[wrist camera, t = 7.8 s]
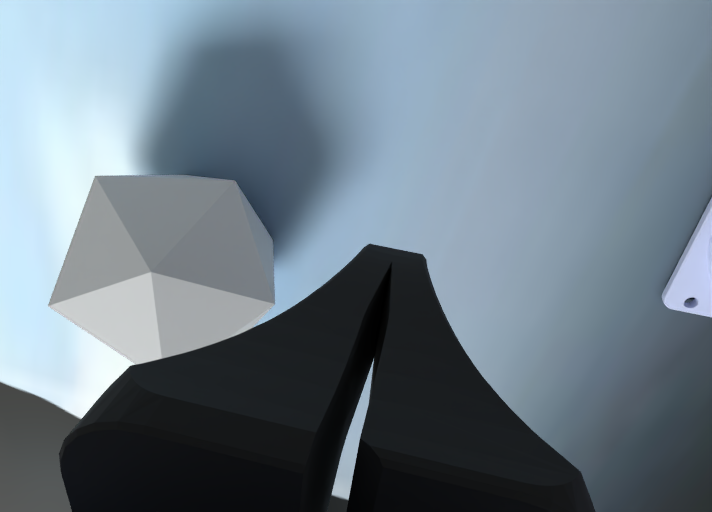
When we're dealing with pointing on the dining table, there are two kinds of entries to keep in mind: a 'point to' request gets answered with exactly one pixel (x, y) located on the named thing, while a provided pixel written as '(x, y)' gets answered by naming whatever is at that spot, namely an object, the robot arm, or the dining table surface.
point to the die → (165, 265)
